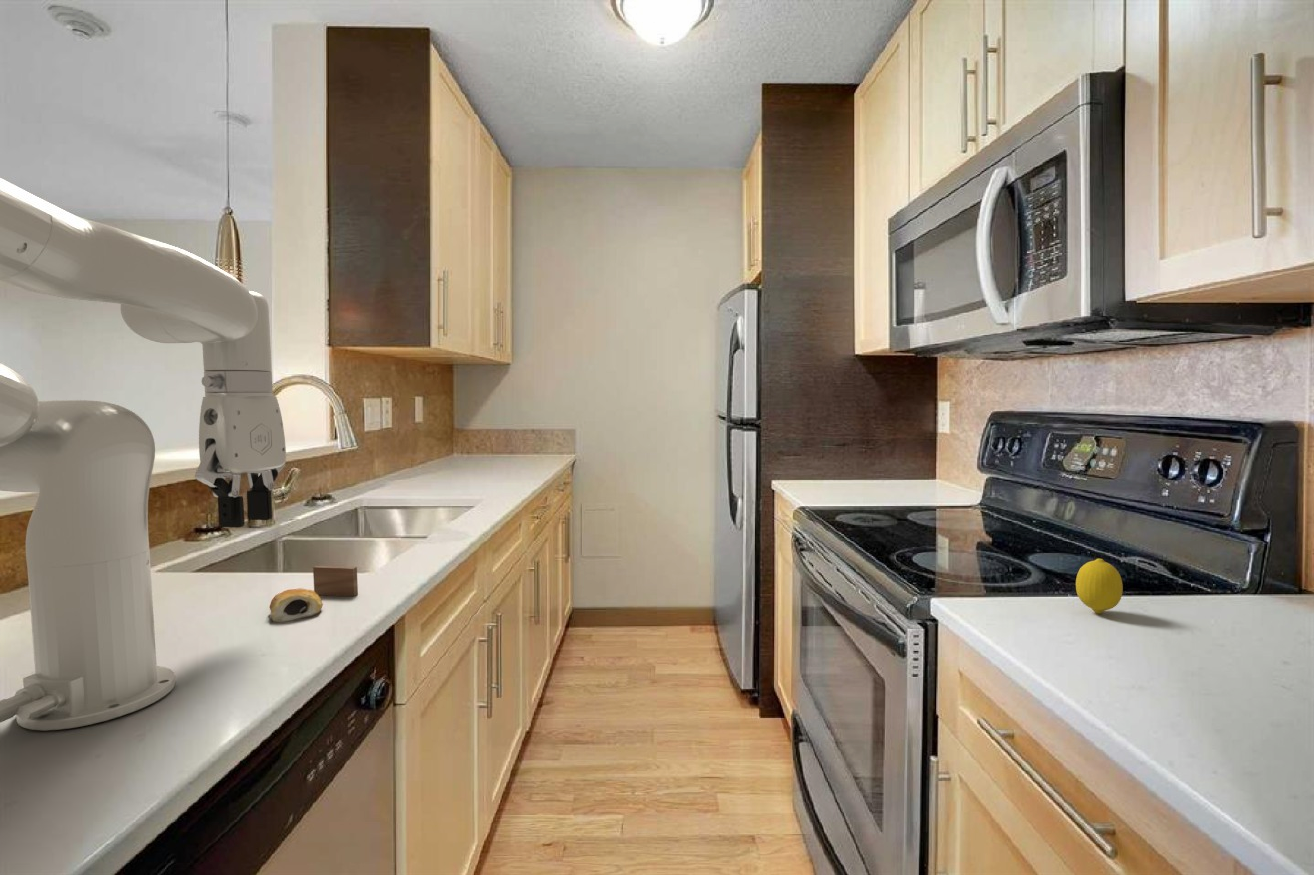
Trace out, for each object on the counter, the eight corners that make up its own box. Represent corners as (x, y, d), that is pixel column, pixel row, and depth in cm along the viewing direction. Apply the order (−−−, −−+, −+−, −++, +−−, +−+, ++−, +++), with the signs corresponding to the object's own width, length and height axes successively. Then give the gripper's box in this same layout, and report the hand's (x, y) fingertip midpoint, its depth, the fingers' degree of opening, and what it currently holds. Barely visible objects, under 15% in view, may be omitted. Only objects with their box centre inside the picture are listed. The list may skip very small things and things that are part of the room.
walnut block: (354, 596, 102) (353, 568, 102) (314, 594, 103) (313, 567, 103) (357, 594, 103) (356, 567, 103) (318, 592, 104) (317, 565, 104)
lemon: (1114, 623, 88) (1116, 565, 87) (1068, 612, 92) (1070, 558, 92) (1126, 614, 91) (1129, 559, 91) (1082, 604, 96) (1084, 551, 95)
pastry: (268, 607, 98) (267, 583, 98) (318, 600, 102) (317, 576, 101) (271, 626, 90) (270, 599, 90) (324, 617, 94) (324, 591, 93)
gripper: (211, 384, 75) (219, 537, 77) (308, 386, 92) (314, 512, 93) (155, 385, 77) (165, 536, 78) (261, 386, 93) (267, 511, 94)
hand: (246, 521), depth 86 cm, fingers open, 4 cm apart
